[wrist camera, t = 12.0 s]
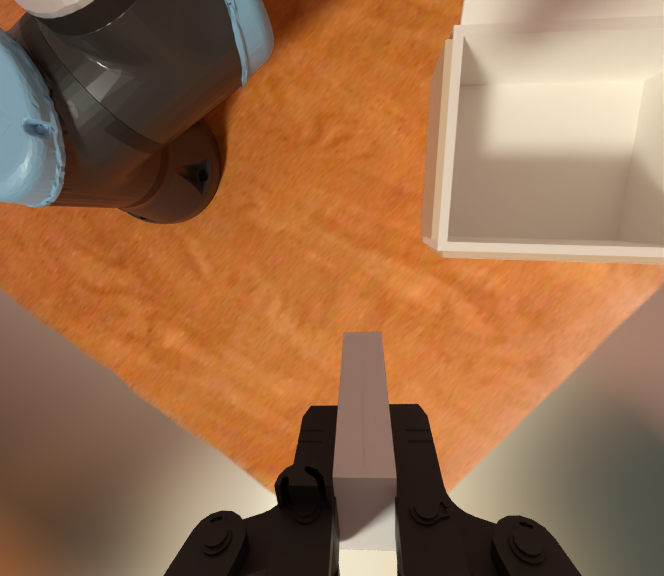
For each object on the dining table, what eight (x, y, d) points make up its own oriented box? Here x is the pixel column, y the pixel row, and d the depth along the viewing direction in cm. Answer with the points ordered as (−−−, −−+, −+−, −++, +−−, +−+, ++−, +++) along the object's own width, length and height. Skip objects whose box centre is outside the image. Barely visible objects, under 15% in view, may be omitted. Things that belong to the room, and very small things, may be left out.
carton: (624, 252, 41) (720, 266, 30) (416, 246, 44) (429, 257, 32) (655, 74, 38) (778, 10, 26) (427, 81, 41) (446, 25, 29)
